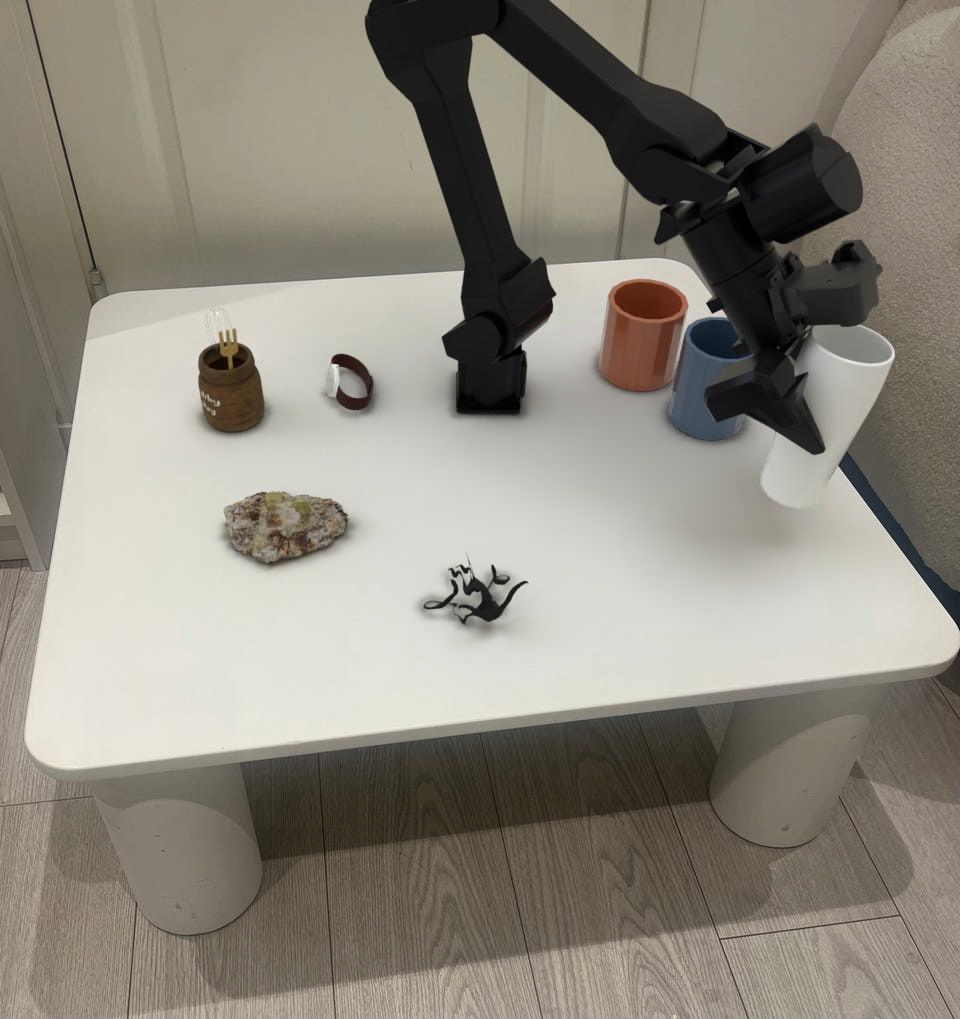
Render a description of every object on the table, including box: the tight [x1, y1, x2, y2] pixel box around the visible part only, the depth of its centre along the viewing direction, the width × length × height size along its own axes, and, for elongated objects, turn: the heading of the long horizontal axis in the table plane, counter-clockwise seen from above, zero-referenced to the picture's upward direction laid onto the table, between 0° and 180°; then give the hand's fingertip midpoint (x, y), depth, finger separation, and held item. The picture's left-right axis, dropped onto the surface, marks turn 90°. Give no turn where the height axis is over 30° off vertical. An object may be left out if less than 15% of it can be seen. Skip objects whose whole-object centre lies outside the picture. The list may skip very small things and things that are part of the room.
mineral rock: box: [223, 490, 350, 564], centre depth 88 cm, size 11×4×8 cm
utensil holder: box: [197, 307, 265, 432], centre depth 96 cm, size 6×6×12 cm
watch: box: [325, 353, 375, 412], centre depth 102 cm, size 8×5×4 cm, turn 16°
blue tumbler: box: [668, 316, 753, 441], centre depth 99 cm, size 7×7×10 cm
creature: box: [423, 552, 530, 624], centre depth 82 cm, size 8×5×8 cm
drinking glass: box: [759, 324, 896, 509], centre depth 82 cm, size 7×7×15 cm
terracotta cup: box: [598, 278, 690, 392], centre depth 105 cm, size 8×8×8 cm
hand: (835, 431), depth 82 cm, fingers closed on drinking glass, 6 cm apart
